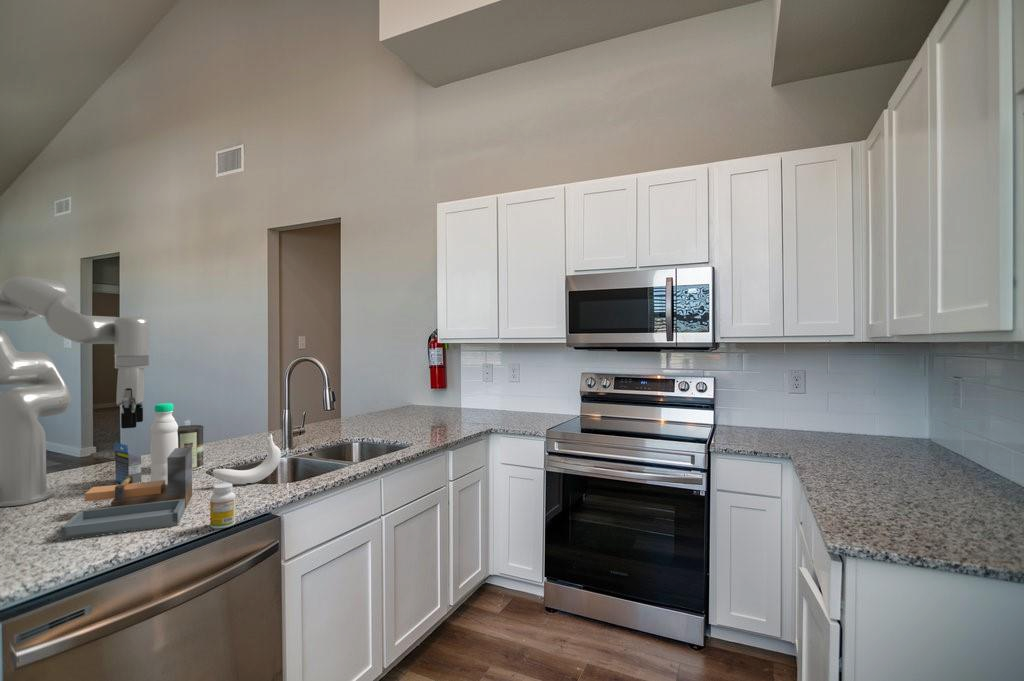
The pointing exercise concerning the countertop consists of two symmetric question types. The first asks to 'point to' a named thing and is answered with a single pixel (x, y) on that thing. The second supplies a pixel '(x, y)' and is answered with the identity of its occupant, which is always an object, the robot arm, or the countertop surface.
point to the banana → (255, 473)
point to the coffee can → (192, 442)
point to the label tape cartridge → (127, 464)
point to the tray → (124, 519)
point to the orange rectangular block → (125, 490)
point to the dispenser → (174, 490)
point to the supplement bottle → (222, 506)
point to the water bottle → (162, 440)
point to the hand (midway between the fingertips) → (132, 424)
